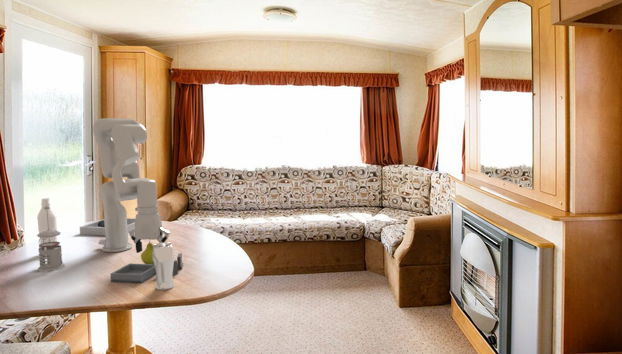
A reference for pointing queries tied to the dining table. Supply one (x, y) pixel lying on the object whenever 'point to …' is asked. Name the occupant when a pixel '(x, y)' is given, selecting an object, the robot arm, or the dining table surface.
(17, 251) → the dining table surface
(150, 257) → the fruit
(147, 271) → the grey square tray
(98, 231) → the tray
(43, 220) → the water bottle
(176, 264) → the clip
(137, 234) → the robot arm
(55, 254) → the french press
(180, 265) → the clip
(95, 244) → the dining table surface
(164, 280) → the beer glass
